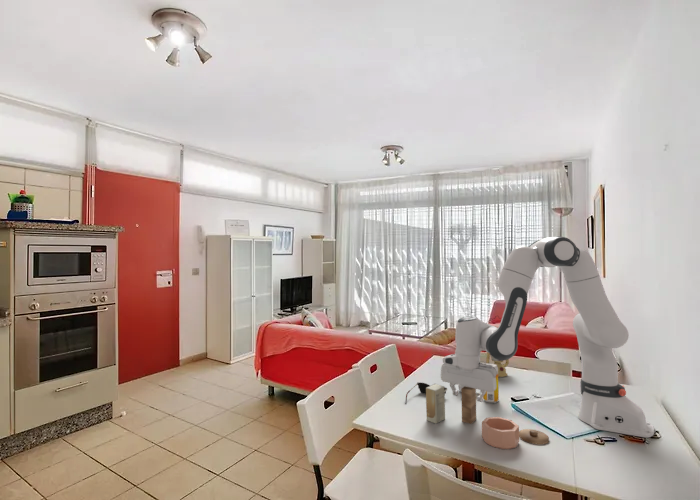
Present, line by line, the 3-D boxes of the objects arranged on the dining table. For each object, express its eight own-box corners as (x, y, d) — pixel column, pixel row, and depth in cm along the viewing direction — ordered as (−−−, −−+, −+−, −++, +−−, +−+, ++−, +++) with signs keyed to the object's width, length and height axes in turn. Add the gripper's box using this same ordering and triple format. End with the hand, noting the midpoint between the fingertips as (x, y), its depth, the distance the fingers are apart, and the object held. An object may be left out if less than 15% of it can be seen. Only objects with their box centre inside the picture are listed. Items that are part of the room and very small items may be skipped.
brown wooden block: (476, 419, 140) (475, 386, 141) (471, 424, 136) (470, 390, 137) (467, 416, 143) (466, 384, 143) (461, 421, 139) (461, 388, 139)
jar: (522, 439, 125) (521, 422, 125) (512, 452, 116) (512, 434, 116) (489, 430, 131) (489, 414, 131) (478, 442, 123) (478, 425, 123)
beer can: (497, 398, 160) (497, 363, 161) (499, 404, 154) (498, 367, 155) (482, 397, 162) (482, 362, 162) (483, 402, 156) (483, 366, 156)
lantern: (490, 377, 188) (489, 317, 189) (482, 371, 198) (481, 314, 199) (514, 377, 189) (512, 317, 189) (505, 371, 199) (504, 314, 199)
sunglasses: (447, 398, 162) (447, 387, 162) (434, 414, 149) (433, 401, 149) (417, 392, 170) (417, 381, 170) (402, 406, 156) (401, 394, 156)
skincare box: (435, 415, 144) (435, 383, 144) (445, 419, 141) (445, 386, 141) (425, 420, 140) (425, 387, 140) (435, 424, 137) (435, 390, 137)
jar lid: (551, 437, 126) (551, 430, 126) (545, 448, 119) (545, 440, 119) (522, 430, 132) (522, 423, 132) (515, 440, 125) (515, 432, 125)
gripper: (499, 364, 136) (499, 402, 136) (445, 354, 149) (445, 389, 149) (493, 368, 131) (493, 408, 131) (438, 357, 144) (438, 394, 144)
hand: (467, 398), depth 140 cm, fingers open, 8 cm apart
